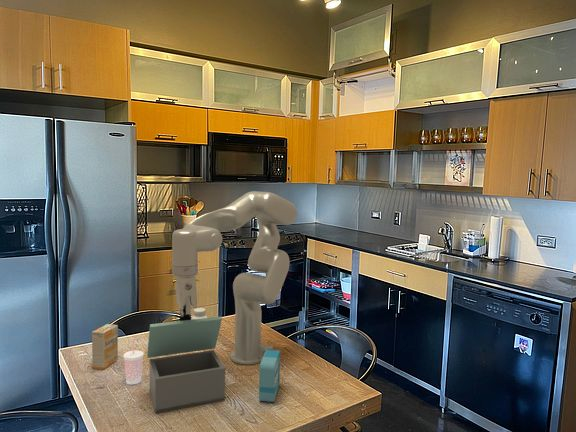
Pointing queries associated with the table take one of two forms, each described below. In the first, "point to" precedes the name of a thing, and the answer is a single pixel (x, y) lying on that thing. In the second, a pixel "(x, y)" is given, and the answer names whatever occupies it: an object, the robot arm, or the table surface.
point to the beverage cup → (133, 366)
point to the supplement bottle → (199, 314)
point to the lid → (183, 336)
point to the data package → (269, 375)
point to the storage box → (186, 381)
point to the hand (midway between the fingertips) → (185, 328)
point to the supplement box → (104, 346)
